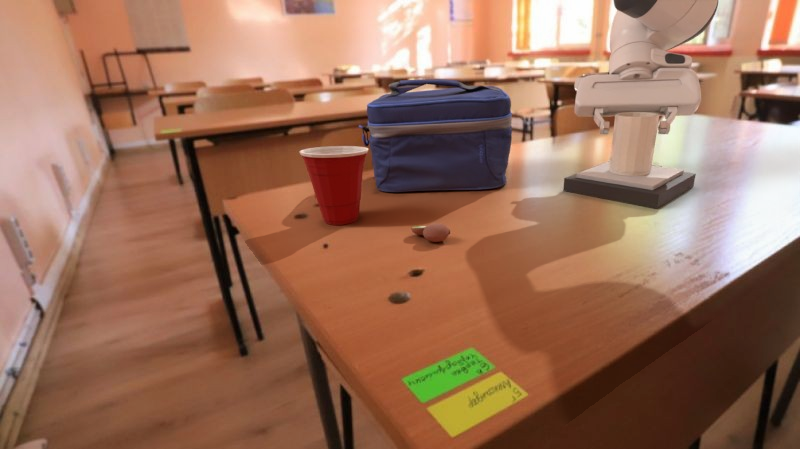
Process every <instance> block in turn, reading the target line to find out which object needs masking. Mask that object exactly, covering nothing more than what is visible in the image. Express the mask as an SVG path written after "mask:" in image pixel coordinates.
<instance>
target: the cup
mask: <svg viewBox="0 0 800 449" xmlns="http://www.w3.org/2000/svg"><path fill="white" fill-rule="evenodd" d="M659 120H660V116H659V114H657V113H651V112H624V113H618V114H615V116H614V123H613V131H612V140H611V149H610V157H609V158H610V159H609V161H610V164H609V172H611V173H613V174H617V175H623V176H644V175H648V174H650V172H651V167H652V165H653V160H654V153H655V148H656V147H655V145H656V139H657V134H658V126H659V122H660V121H659Z"/></svg>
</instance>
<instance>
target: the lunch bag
mask: <svg viewBox="0 0 800 449" xmlns="http://www.w3.org/2000/svg"><path fill="white" fill-rule="evenodd" d="M425 85H430V86H431V85H432V86H443V87H450V88H440V89H427V90H418V91H412V90H415V89H417V88H421V87H422V86H425ZM388 88H389V89H390V91H391V92H390V93H385V94H382V95H381V96H379V97H378V98H376V99H373V100H372V101H370V102H369V103H367V104H366V115H367V119H368V120H367V123H366V124H365V125H361V124H359V125H358V128H359V129H361V131H362V136H361V137H362V142H363V145H364V147H368V146H369V148H370V153H371V154H370V155H371V161H372V168H373V176H374V180H375V187H376V189H377V190H379V191H381V192H384V193H405V192H417V191H418V192H420V191H423V192H424V191H476V190H478V191H479V190H490V189H491V190H492V189H497V188H501V187H503V186H505V185H507V181H508V180H507V176H506V173H507V169H508V167H509V158H510V154H511V146H512V139H513V137H512V134H513V127H512V120H513V118H512V116H513V113H512V110H511V109H512V101H511V97H510V95H509V94H508V93H507V92H505V91H504V90H503V89H502V88H500V87H498V86H495V85H494V86H493V85H482V84H481V85H466V84H464V83H463V82H460V81H458V80H454V79H444V78H443V79H441V78H425V79H424V78H423V79H421V78H419V79H405V80H401V79H400V80H399V81H396V82H392V83H389V84H388Z"/></svg>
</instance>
